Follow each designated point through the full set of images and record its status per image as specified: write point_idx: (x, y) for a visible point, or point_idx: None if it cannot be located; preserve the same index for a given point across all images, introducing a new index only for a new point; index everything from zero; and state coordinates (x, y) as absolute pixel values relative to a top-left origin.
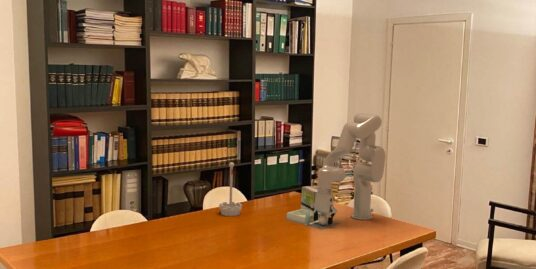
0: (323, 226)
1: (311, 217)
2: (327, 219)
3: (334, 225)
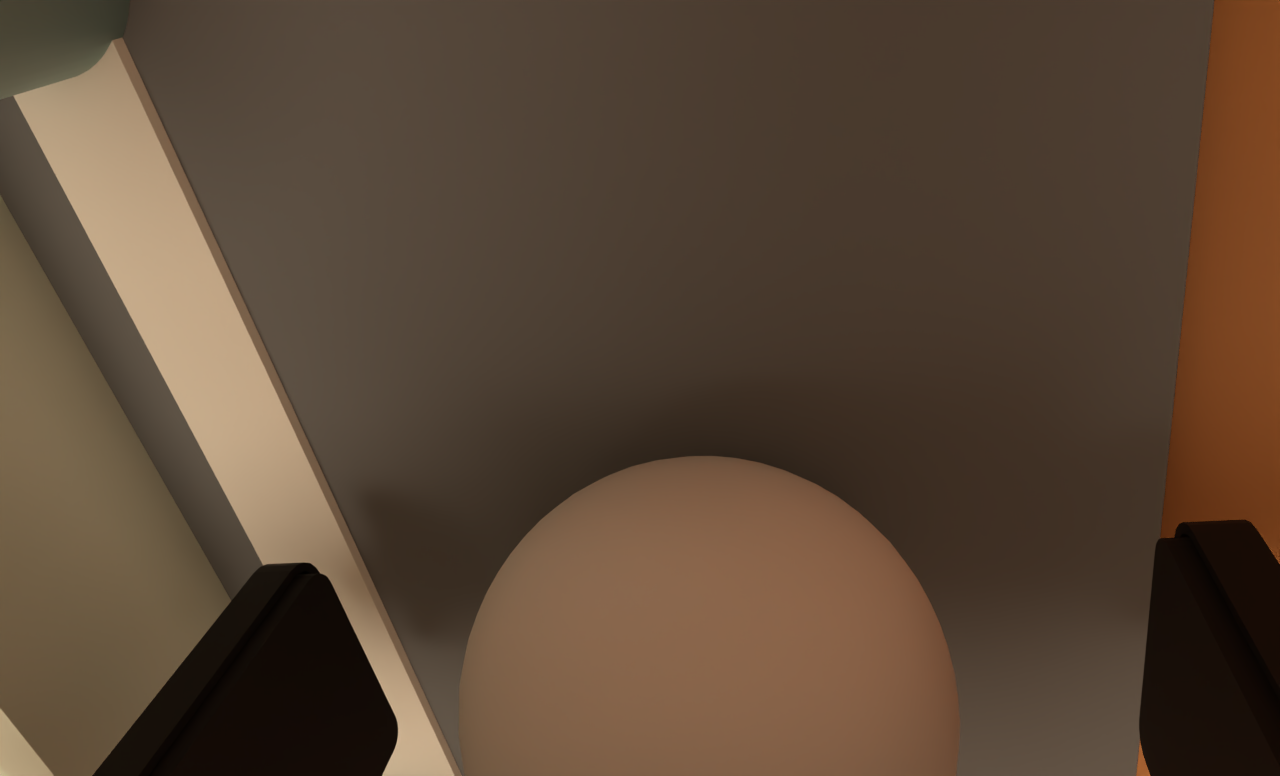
0: None
1: (104, 716)
2: (928, 702)
3: (1178, 198)
